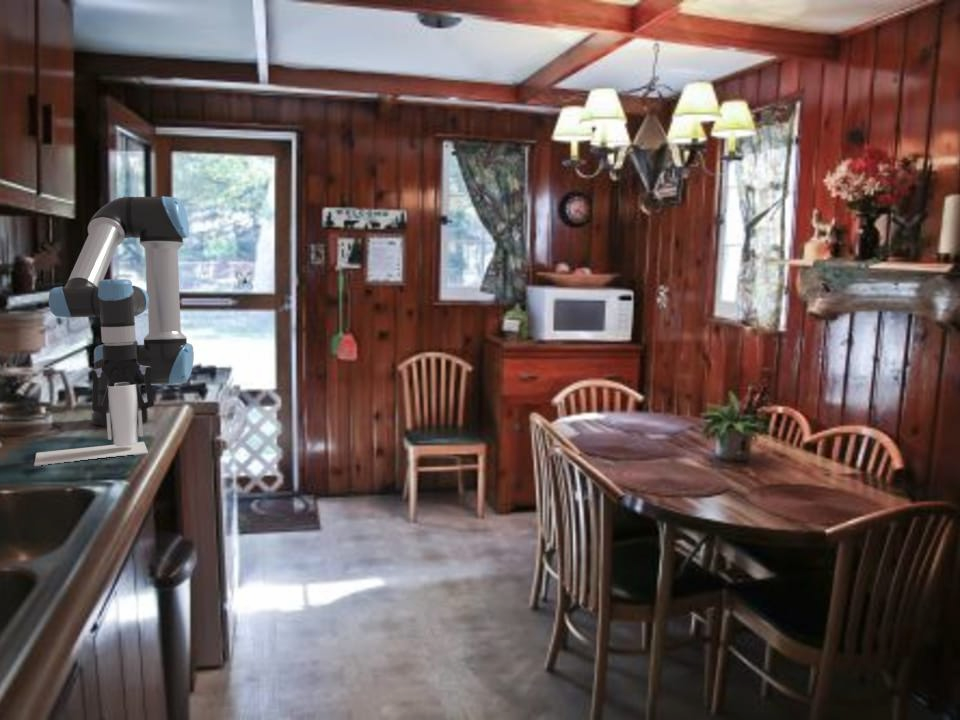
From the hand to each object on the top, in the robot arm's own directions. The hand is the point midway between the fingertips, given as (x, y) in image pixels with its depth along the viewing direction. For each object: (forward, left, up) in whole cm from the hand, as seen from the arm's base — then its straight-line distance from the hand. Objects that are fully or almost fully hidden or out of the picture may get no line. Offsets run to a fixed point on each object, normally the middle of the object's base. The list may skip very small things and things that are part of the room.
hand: (125, 436), depth 193 cm
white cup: (0, 0, -2) cm, 2 cm away
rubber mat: (+6, -5, -3) cm, 8 cm away
